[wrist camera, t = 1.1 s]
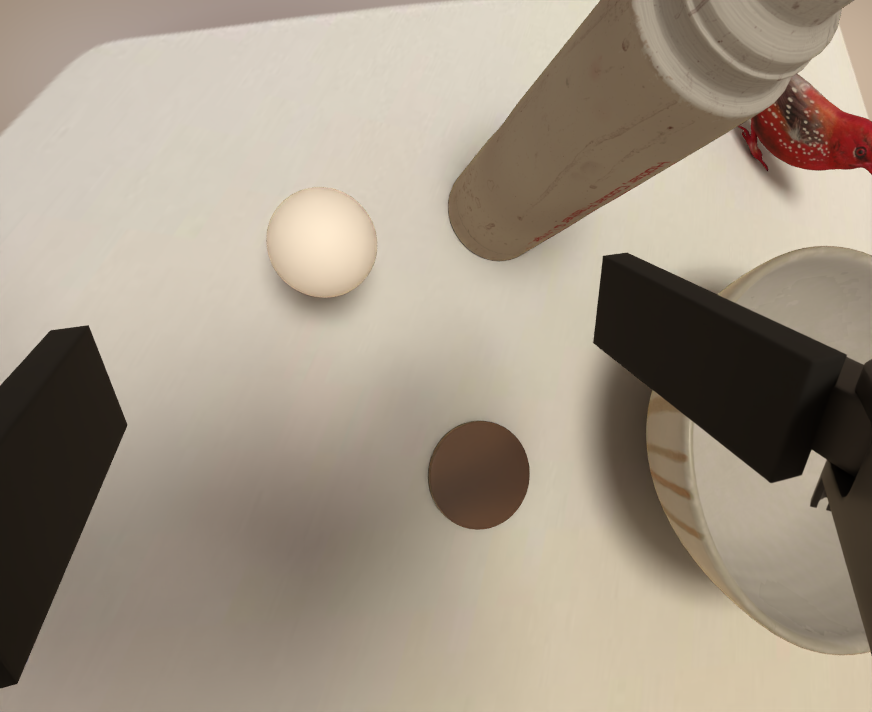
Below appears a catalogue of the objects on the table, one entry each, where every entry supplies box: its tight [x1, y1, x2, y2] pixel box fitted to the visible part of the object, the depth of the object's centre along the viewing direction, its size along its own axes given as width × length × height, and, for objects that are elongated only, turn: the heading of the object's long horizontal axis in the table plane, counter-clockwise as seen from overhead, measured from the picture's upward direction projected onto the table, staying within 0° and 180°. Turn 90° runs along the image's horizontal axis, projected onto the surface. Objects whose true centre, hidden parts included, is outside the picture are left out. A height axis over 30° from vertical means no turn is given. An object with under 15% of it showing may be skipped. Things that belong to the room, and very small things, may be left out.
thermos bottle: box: [448, 0, 854, 261], centre depth 28 cm, size 8×8×28 cm
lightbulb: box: [266, 187, 377, 298], centre depth 32 cm, size 6×6×11 cm
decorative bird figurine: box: [738, 74, 872, 175], centre depth 45 cm, size 3×18×10 cm, turn 38°
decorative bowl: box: [646, 246, 872, 655], centre depth 40 cm, size 27×27×12 cm
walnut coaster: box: [428, 421, 529, 530], centre depth 39 cm, size 8×8×1 cm
